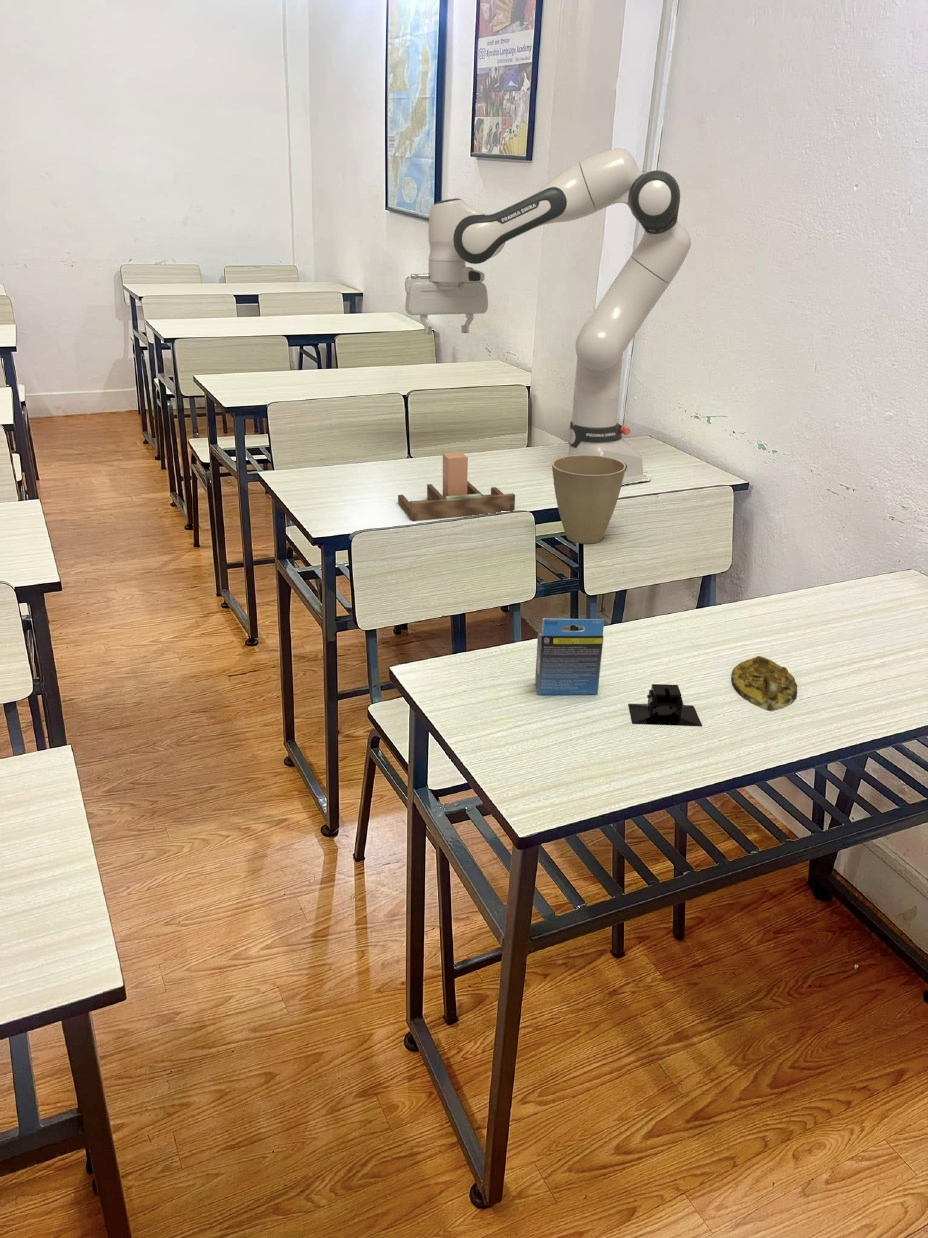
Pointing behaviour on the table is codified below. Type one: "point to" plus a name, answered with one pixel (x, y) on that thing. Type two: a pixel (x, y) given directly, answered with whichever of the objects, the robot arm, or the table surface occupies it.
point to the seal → (764, 683)
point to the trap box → (457, 504)
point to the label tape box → (569, 657)
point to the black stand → (664, 708)
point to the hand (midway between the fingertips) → (446, 333)
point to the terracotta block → (455, 474)
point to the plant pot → (586, 494)
